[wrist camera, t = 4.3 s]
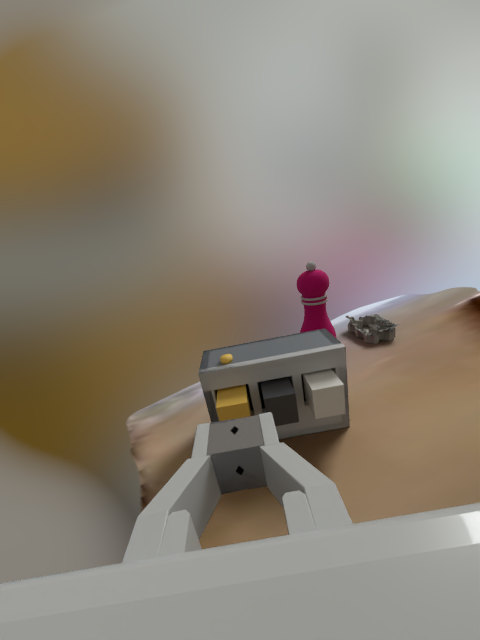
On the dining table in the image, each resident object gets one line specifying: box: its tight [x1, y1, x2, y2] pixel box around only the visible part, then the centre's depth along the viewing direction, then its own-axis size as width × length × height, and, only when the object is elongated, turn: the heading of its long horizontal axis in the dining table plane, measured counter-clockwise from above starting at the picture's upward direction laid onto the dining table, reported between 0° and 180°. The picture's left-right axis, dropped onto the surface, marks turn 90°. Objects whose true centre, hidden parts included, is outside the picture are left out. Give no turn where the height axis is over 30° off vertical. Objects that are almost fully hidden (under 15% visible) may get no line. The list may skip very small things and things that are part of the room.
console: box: [198, 328, 350, 439], centre depth 34 cm, size 18×6×13 cm, turn 92°
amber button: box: [216, 384, 251, 421], centre depth 30 cm, size 4×4×4 cm
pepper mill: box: [297, 262, 336, 338], centre depth 49 cm, size 7×7×20 cm
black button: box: [260, 377, 299, 426], centre depth 30 cm, size 4×4×4 cm
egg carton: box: [346, 314, 399, 344], centre depth 57 cm, size 11×8×4 cm
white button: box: [302, 369, 346, 419], centre depth 30 cm, size 4×4×4 cm
